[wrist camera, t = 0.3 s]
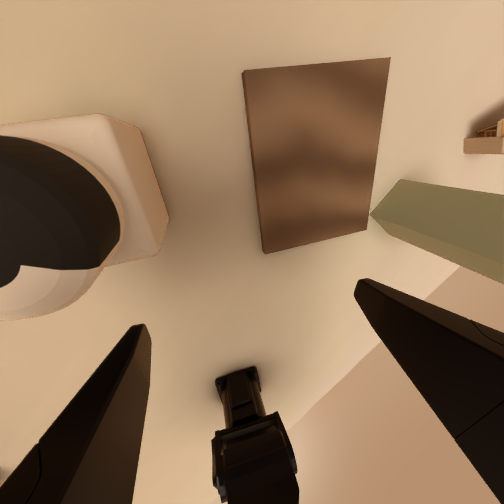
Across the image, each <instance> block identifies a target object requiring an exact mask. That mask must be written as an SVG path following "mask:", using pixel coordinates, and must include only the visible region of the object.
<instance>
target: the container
mask: <svg viewBox="0 0 504 504" xmlns="http://www.w3.org/2000/svg"><path fill="white" fill-rule="evenodd" d="M168 221H169V216H168V213H167V210H166V207H165V204H164V201H163V198H162V195H161V192H160V189H159V186H158V183H157V180H156V177H155V174H154V171H153V168H152V165H151V162H150V159H149V156H148V153H147V150H146V147H145V144H144V141H143V138H142V135H141V132H140V130H139V129H138V128H137V127H135V126H132V125H129V124H127V123H124V122H122V121H119V120H116V119H114V118H111V117H109V116H106V115H103V114H90V115H81V116H72V117H64V118H55V119H46V120H37V121H29V122H20V123H11V124H2V125H0V321H4V320H17V319H25V318H33V317H38V316H42V315H47V314H50V313H53V312H55V311H58V310H60V309H63V308H65V307H67V306H69V305H70V304H72V303H73V302H75V301H76V300H78V299H79V298H80V297H81V296H82V295H84V294H85V293H86V292H87V290H88V289H89V288H90V287H91V285H92V284H93V283H94V281H95V280H96V278H97V277H98V276H99V274H100V273H101V271H102V270H103V269H104V267H107V266H111V265H116V264H120V263H125V262H129V261H133V260H138V259H142V258H147V257H151V256H155V255H157V254H158V253H159V251H160V247H161V244H162V241H163V238H164V234H165V231H166V228H167V224H168Z"/></svg>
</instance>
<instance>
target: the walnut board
mask: <svg viewBox="0 0 504 504" xmlns="http://www.w3.org/2000/svg"><path fill="white" fill-rule="evenodd" d="M390 59H391V57H389V58H377V59H366V60H355V61H344V62H332V63H321V64H310V65H298V66H287V67H276V68H264V69H253V70H244V71H243V73H242V78H243V86H244V95H245V103H246V112H247V120H248V129H249V137H250V146H251V154H252V163H253V171H254V180H255V188H256V197H257V205H258V214H259V222H260V231H261V239H262V248H263V252H264V254H269V253H273V252H277V251H281V250H286V249H290V248H294V247H298V246H302V245H306V244H310V243H314V242H318V241H322V240H327V239H331V238H335V237H339V236H343V235H347V234H351V233H355V232H359V231H363V230H367V223H368V216H369V209H370V202H371V195H372V187H373V180H374V173H375V166H376V159H377V152H378V144H379V137H380V130H381V123H382V116H383V109H384V102H385V94H386V87H387V80H388V73H389V66H390Z"/></svg>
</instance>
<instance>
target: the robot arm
mask: <svg viewBox="0 0 504 504" xmlns="http://www.w3.org/2000/svg"><path fill="white" fill-rule="evenodd" d="M354 297H355V299H356V301H357V303H358V304H359V306H360V308H361V309H362V311H363V313H364V314H365V316H366V318H367V319H368V321H369V323H370V324H371V326H372V327H373V329H374V330H375V332H376V333H377V335H378V336H379V337H380V339H381V340H382V341H383V343H384V344H385V346H386V347H387V348H388V350H389V351H390V352H391V354H392V355H393V356H394V358H395V359H396V361H397V362H398V363H399V365H400V366H401V367H402V369H403V370H404V371H405V373H406V374H407V376H408V377H409V378H410V380H411V381H412V382H413V384H414V385H415V387H416V388H417V389H418V391H419V392H420V393H421V395H422V396H423V397H424V399H425V400H426V402H427V403H428V404H429V406H430V407H431V408H432V410H433V411H434V412H435V414H436V415H437V417H438V418H439V419H440V421H441V422H442V423H443V425H444V426H445V427H446V429H447V430H448V432H449V433H450V434H451V435H452V437H453V438H454V440H455V441H456V443H457V444H458V446H459V447H460V448H461V450H462V451H463V452H464V454H465V455H466V456H467V458H468V459H469V461H470V462H471V463H472V465H473V466H474V467H475V469H476V470H477V471H478V473H479V474H480V476H481V477H482V478H483V480H484V481H485V483H486V484H487V485H488V487H489V488H490V489H491V491H492V492H493V493H494V495H495V496H496V498H497V499H498V500H499V501H500V503H501V504H504V333H503V332H500V331H498V330H494V329H492V328H490V327H487V326H485V325H482V324H480V323H477V322H475V321H473V320H469V319H467V318H465V317H463V316H460V315H458V314H455V313H453V312H450V311H448V310H445V309H443V308H440V307H438V306H435V305H433V304H430V303H428V302H425V301H423V300H421V299H418V298H416V297H413V296H411V295H408V294H406V293H403V292H401V291H398V290H396V289H393V288H391V287H389V286H386V285H384V284H381V283H379V282H376V281H374V280H371V279H369V278H365V279H360V280H359V281H358V282H357V285H356V288H355V291H354ZM151 344H152V343H151V337H150V335H149V332H148V330H147V327H146V325H145V324H138V325H133V326H131V327H130V328H129V330H128V331H127V332H126V333H125V335H124V336H123V337H122V338H121V339H120V341H119V342H118V343H117V344H116V346H115V347H114V348H113V349H112V351H111V352H110V353H109V354H108V356H107V357H106V358H105V359H104V360H103V362H102V363H101V364H100V365H99V367H98V368H97V369H96V370H95V372H94V373H93V374H92V375H91V377H90V378H89V379H88V380H87V381H86V383H85V384H84V385H83V386H82V388H81V389H80V390H79V391H78V393H77V394H76V395H75V396H74V398H73V399H72V400H71V401H70V402H69V404H68V405H67V406H66V407H65V409H64V410H63V411H62V412H61V414H60V415H59V416H58V417H57V419H56V420H55V421H54V422H53V423H52V425H51V426H50V427H49V428H48V430H47V431H46V432H45V433H44V435H43V436H42V437H41V438H40V440H39V443H37V444H35V445H34V447H33V448H32V449H31V450H30V452H29V453H28V454H27V455H26V457H25V458H24V459H23V460H22V462H21V463H20V464H19V465H18V466H17V468H16V469H15V470H14V471H13V472H12V474H11V475H10V476H9V477H8V478H7V480H6V481H5V482H4V483H3V484H2V486H1V487H0V504H132V499H133V493H134V486H135V480H136V473H137V467H138V460H139V454H140V447H141V441H142V434H143V428H144V421H145V415H146V408H147V402H148V395H149V388H150V369H151ZM215 385H216V388H217V390H218V393H219V396H220V399H221V401H222V404H223V409H224V417H225V425H226V429H223V430H220V431H219V430H218V431H215V437H214V438H213V439H212V440H211V442H212V479H213V486H214V487H215V488H216V489H218V493H219V494H220V497H221V502H222V503H224V502H228V504H299V487H298V483H297V480H296V476H295V474H297V465H296V460H295V456H294V452H293V449H292V445H291V443H290V440H289V438H288V435H287V433H286V430H285V428H284V425H283V423H282V421H281V418H280V416H279V413H278V411H276V412H274V413H273V414H270V415H267V416H266V412H265V409H264V405H263V402H262V398H261V395H260V392H261V388H260V382H259V377H258V372H257V368H256V367H252V368H249V369H246V370H243V371H240V372H237V373H234V374H231V375H228V376H225V377H222V378H219V379H217V380H216V381H215Z"/></svg>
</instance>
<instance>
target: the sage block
mask: <svg viewBox="0 0 504 504" xmlns="http://www.w3.org/2000/svg"><path fill="white" fill-rule="evenodd" d="M370 215H371V216H372V217H373V218H374V219H375V220H376V221H377V222H378V223H379V224H380V225H381V226H382V227H383V228H384V229H385V230H386V232H387V233H388V234H389V235H392V236H394V237H396V238H398V239H401V240H403V241H405V242H408V243H410V244H412V245H415V246H417V247H419V248H421V249H424V250H426V251H428V252H431V253H433V254H435V255H437V256H440V257H442V258H444V259H447V260H449V261H451V262H454V263H456V264H458V265H460V266H463V267H465V268H467V269H470V270H472V271H474V272H477V273H479V274H481V275H483V276H486V277H488V278H491V279H493V280H495V281H498V282H500V283H502V284H504V195H500V194H493V193H487V192H480V191H473V190H467V189H460V188H453V187H447V186H440V185H433V184H427V183H420V182H413V181H407V180H399V182H398V183H397V184H396V185H395V186H394V187H393V189H392V190H391V191H390V192H389V193H388V194H387V195H386V197H385V198H384V199H383V200H382V201H381V202H380V204H379V205H378V206H377V207H376V208H375V209H374V210H373V212H372V213H371V214H370Z"/></svg>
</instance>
